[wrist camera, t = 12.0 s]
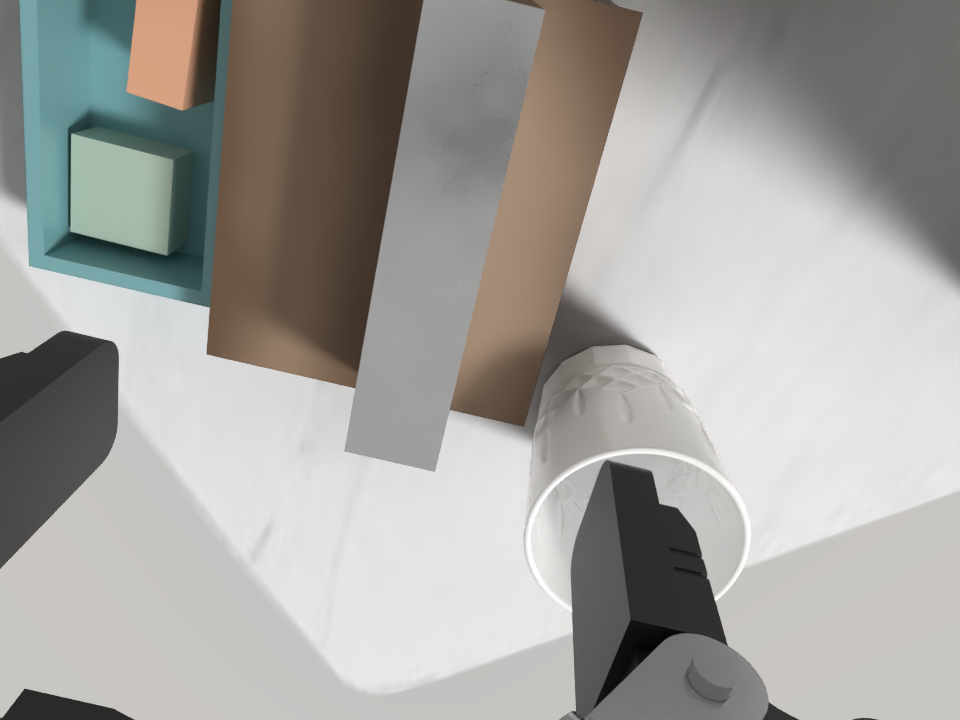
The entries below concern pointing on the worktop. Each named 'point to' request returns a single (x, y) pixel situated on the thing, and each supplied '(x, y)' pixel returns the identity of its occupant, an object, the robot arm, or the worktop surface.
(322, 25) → the brown wooden box
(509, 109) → the steel bar
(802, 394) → the worktop surface
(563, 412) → the white cup
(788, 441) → the worktop surface
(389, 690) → the worktop surface
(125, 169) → the sage tile
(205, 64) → the terracotta tile
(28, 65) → the teal box
